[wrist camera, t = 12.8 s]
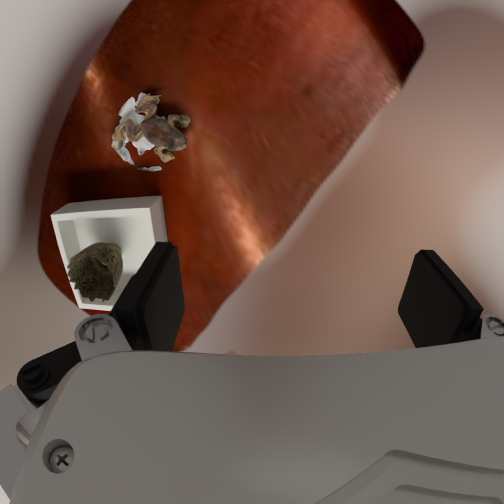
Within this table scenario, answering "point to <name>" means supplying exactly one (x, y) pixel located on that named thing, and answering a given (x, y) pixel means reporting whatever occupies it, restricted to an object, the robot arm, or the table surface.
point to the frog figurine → (148, 130)
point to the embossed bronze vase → (96, 270)
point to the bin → (110, 235)
